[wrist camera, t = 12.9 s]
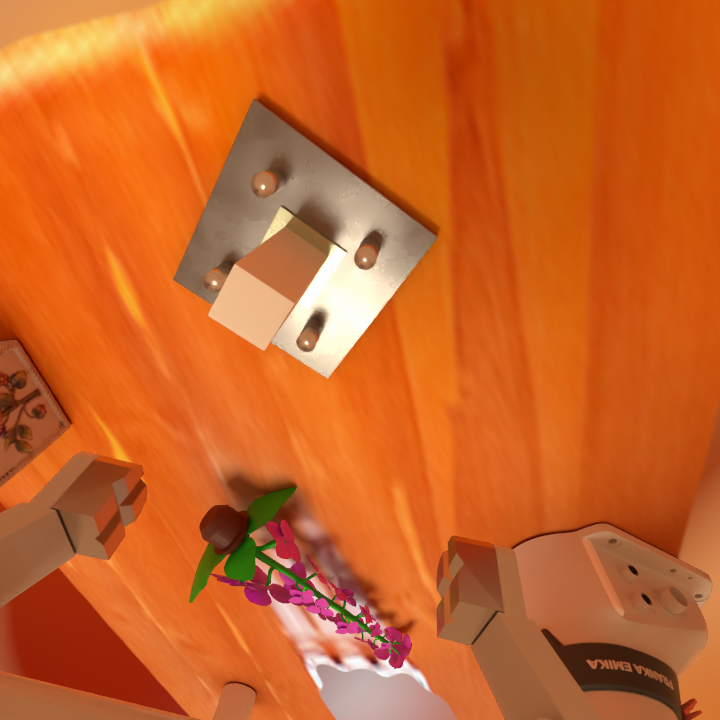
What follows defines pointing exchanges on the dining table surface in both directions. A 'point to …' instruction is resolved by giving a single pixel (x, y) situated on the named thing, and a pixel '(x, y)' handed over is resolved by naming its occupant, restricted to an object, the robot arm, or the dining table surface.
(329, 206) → the grey square base plate
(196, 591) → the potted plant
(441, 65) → the dining table surface
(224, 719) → the tan cylinder
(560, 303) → the dining table surface
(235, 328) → the post
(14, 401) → the decorative jar
